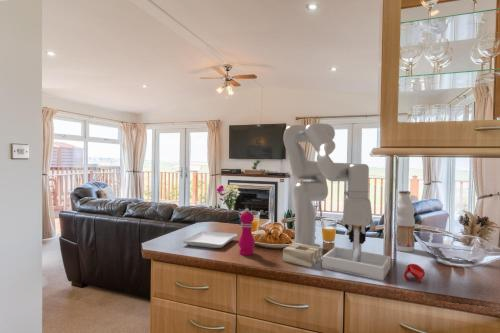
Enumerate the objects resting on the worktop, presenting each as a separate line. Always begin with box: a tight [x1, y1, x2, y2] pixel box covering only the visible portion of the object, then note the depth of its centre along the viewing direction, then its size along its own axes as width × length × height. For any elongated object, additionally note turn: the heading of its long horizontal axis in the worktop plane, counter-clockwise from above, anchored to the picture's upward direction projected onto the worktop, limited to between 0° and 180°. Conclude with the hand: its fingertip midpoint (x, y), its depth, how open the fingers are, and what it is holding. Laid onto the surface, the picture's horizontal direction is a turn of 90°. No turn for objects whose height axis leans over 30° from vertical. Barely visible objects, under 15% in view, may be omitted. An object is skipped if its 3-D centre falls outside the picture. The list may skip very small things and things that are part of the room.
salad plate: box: [182, 231, 238, 249], centre depth 151 cm, size 21×21×3 cm
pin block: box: [282, 243, 322, 268], centre depth 126 cm, size 12×12×5 cm
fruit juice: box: [396, 190, 416, 253], centre depth 145 cm, size 9×9×28 cm
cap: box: [403, 263, 426, 284], centre depth 106 cm, size 8×6×6 cm
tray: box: [321, 246, 392, 282], centre depth 118 cm, size 16×22×4 cm
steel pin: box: [352, 225, 362, 262], centre depth 118 cm, size 5×5×15 cm
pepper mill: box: [238, 208, 256, 256], centre depth 134 cm, size 7×7×20 cm
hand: (357, 242), depth 118 cm, fingers closed on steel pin, 3 cm apart
